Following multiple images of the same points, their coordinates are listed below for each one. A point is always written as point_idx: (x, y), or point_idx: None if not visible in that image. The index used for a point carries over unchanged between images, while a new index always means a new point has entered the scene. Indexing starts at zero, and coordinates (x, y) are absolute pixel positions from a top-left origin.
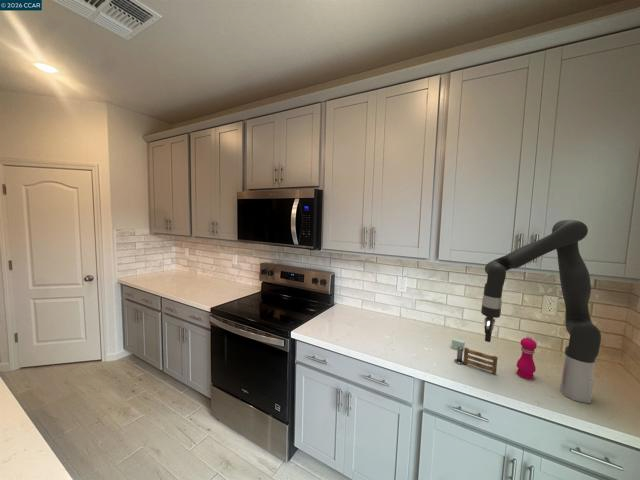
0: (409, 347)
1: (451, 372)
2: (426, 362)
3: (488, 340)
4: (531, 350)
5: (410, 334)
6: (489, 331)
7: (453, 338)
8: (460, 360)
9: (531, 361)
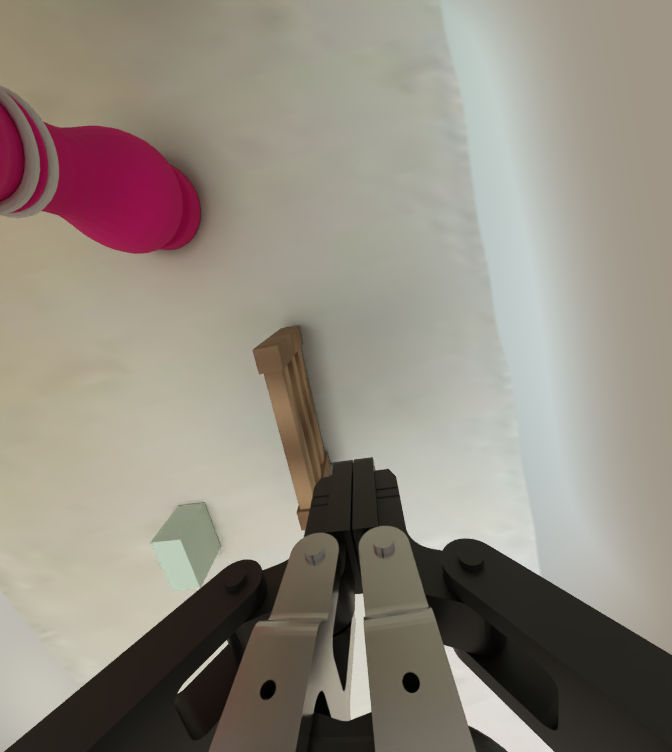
0: None
1: (453, 473)
2: None
3: (393, 481)
4: None
5: None
6: (612, 644)
7: (177, 588)
8: None
9: (85, 135)
